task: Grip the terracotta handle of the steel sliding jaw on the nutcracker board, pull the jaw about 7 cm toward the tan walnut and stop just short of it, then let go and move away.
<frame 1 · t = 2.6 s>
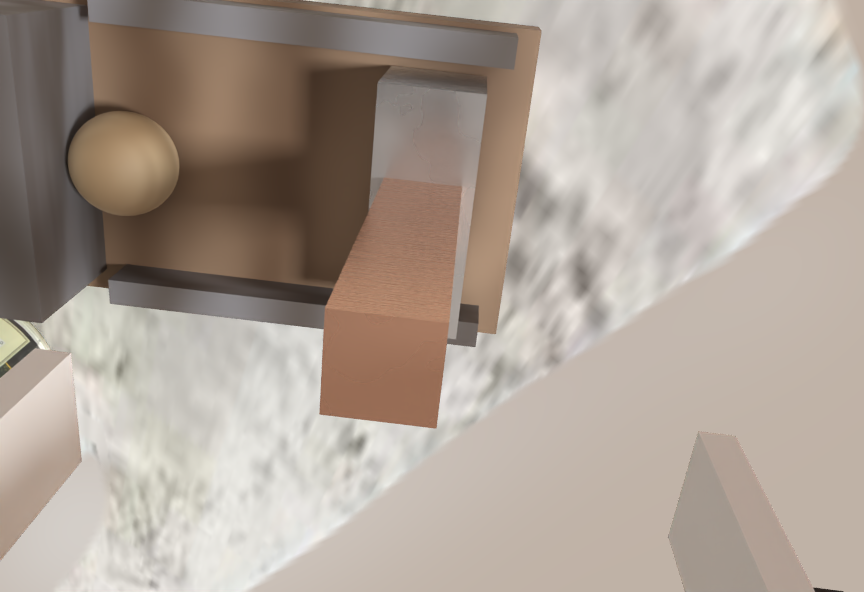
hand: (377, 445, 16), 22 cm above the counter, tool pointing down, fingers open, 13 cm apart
sliding jaw: (411, 252, 27), point 11 cm above the counter, slide at 0.0 cm
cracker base: (283, 156, 37), on the counter
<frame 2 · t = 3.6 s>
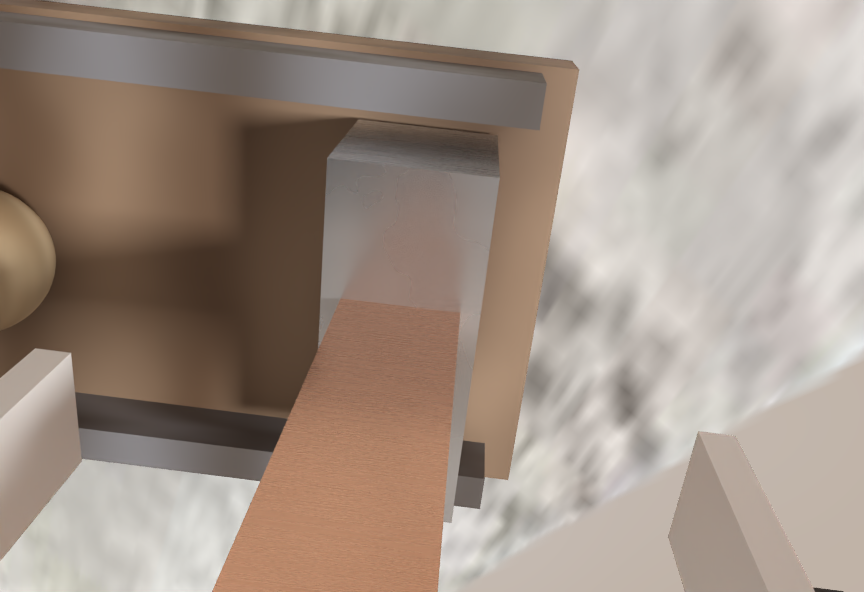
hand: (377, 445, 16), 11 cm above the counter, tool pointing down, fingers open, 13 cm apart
sliding jaw: (376, 439, 16), point 11 cm above the counter, slide at 0.0 cm
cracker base: (214, 236, 26), on the counter
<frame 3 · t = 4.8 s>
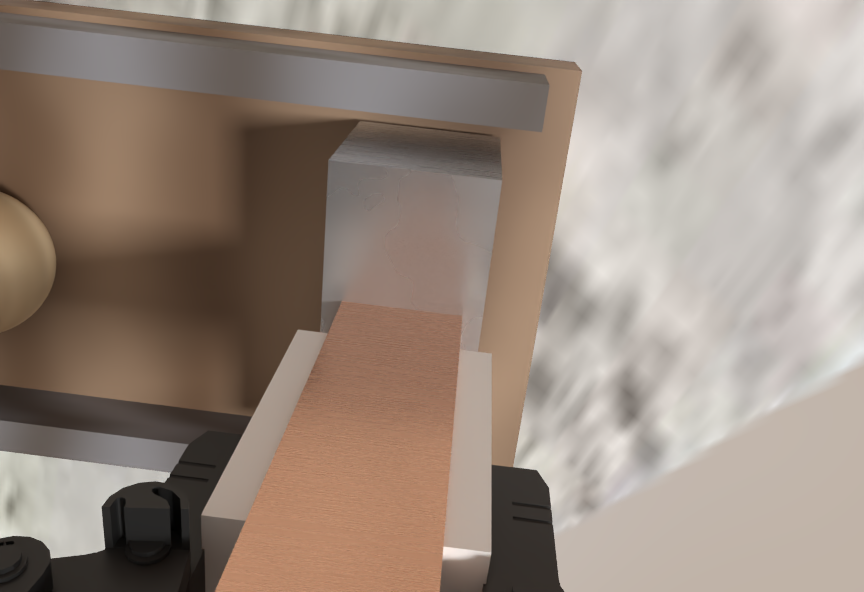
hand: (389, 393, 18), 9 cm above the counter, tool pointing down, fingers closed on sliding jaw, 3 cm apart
sliding jaw: (377, 443, 16), point 11 cm above the counter, slide at 0.0 cm, touching gripper
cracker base: (215, 238, 26), on the counter
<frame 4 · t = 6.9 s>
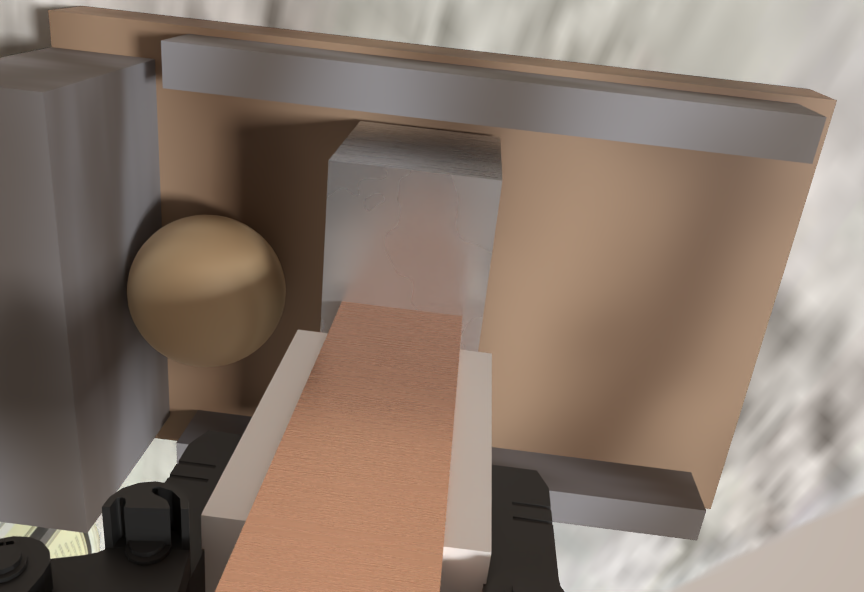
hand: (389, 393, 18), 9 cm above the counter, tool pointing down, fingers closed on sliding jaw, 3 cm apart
sliding jaw: (377, 444, 16), point 11 cm above the counter, slide at 7.0 cm, touching gripper
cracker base: (419, 262, 26), on the counter
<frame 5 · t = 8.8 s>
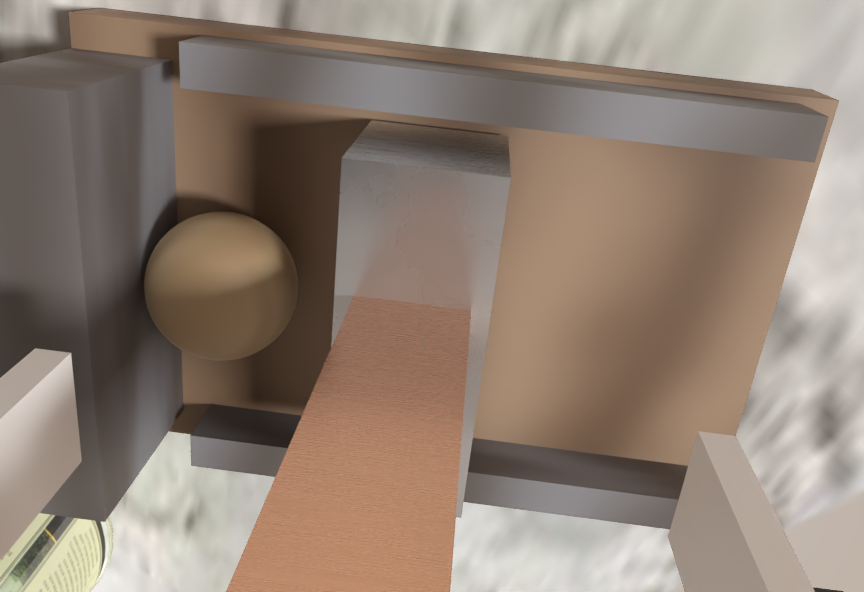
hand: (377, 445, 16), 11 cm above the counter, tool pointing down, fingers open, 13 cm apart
coffee can: (0, 514, 33), on the counter
sliding jaw: (389, 433, 17), point 11 cm above the counter, slide at 7.0 cm
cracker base: (428, 260, 27), on the counter
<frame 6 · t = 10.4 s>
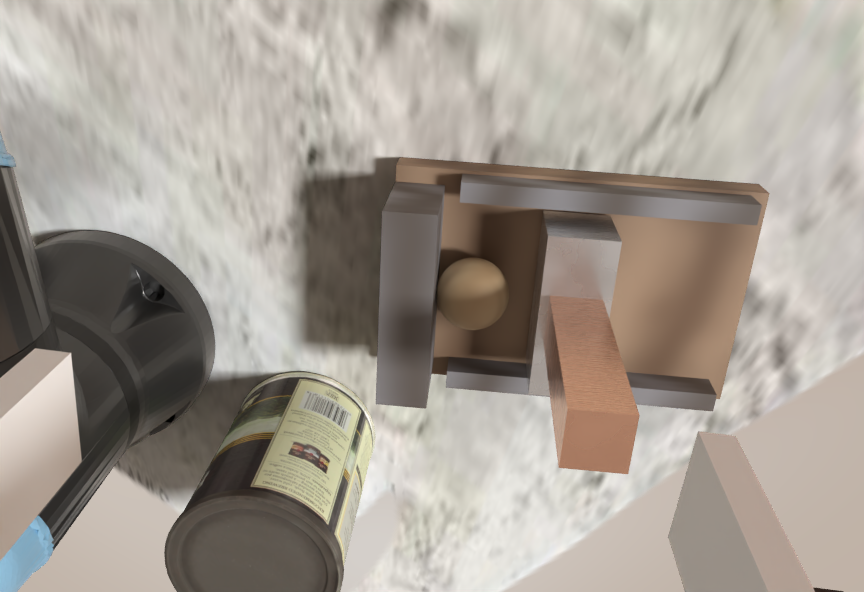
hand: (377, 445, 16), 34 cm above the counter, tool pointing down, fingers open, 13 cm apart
coffee can: (308, 430, 57), on the counter
sliding jaw: (579, 351, 41), point 11 cm above the counter, slide at 7.0 cm
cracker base: (563, 275, 50), on the counter
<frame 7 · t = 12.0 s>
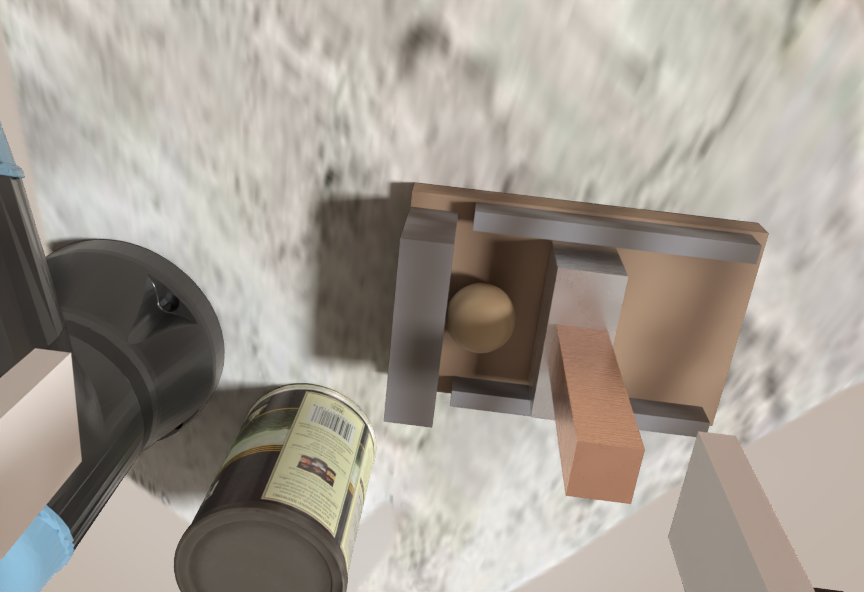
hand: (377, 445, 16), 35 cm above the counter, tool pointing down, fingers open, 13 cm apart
coffee can: (311, 441, 59), on the counter
sliding jaw: (584, 380, 43), point 11 cm above the counter, slide at 7.0 cm
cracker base: (567, 302, 52), on the counter
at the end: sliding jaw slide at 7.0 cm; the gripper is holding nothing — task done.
